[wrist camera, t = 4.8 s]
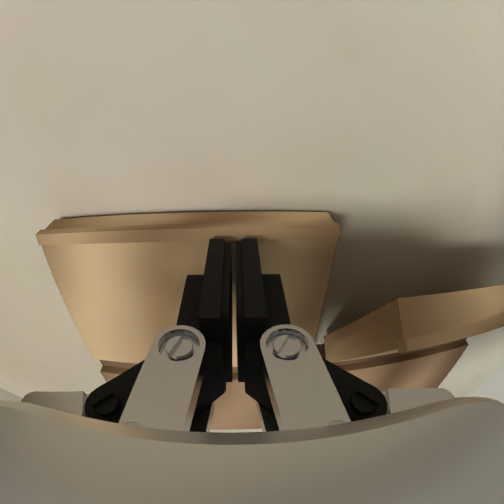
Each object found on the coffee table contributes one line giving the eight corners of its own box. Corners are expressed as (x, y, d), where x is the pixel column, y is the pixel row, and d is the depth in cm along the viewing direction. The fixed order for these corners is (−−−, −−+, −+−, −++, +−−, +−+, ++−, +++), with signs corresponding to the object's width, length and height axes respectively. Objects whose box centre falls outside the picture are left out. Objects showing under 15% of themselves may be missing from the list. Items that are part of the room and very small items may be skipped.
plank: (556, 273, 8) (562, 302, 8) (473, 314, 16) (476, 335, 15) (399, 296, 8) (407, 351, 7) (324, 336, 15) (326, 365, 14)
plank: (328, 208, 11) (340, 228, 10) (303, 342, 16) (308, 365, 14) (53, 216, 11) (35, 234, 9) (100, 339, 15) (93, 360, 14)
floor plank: (463, 322, 17) (473, 337, 15) (423, 384, 21) (429, 397, 20) (103, 343, 15) (95, 363, 14) (137, 406, 19) (133, 423, 18)
